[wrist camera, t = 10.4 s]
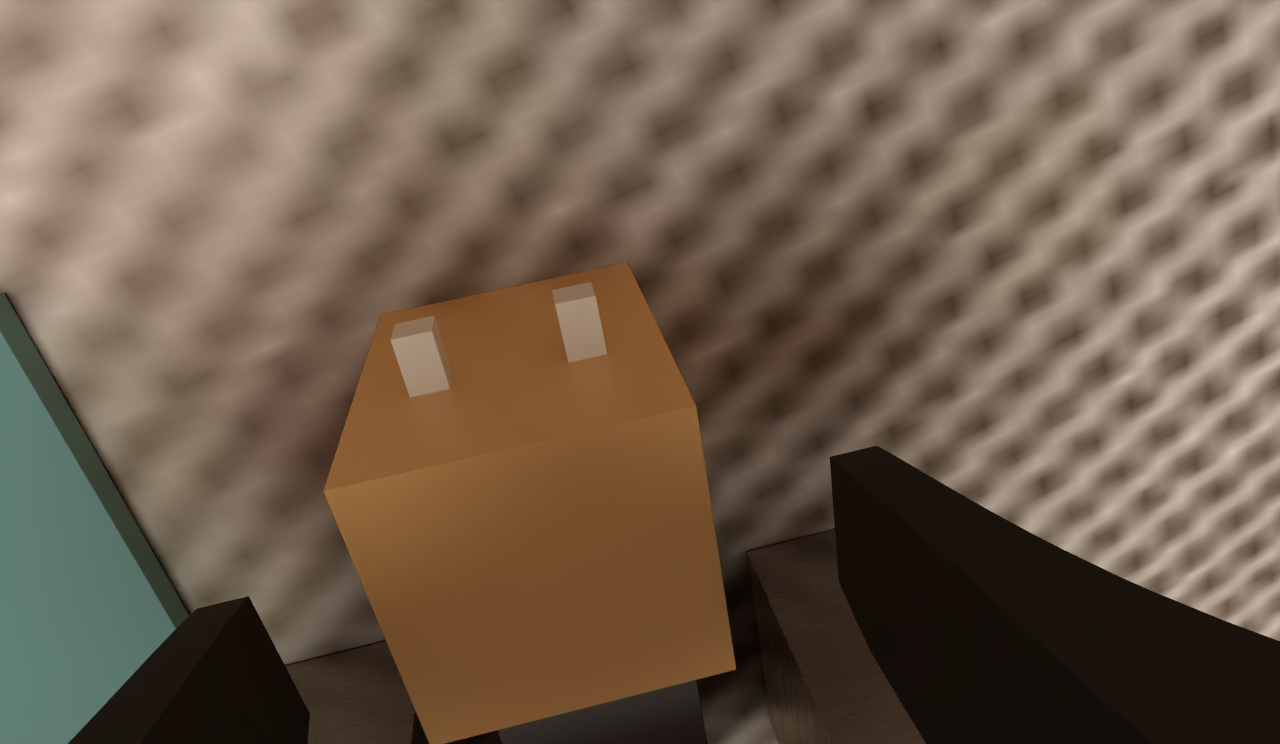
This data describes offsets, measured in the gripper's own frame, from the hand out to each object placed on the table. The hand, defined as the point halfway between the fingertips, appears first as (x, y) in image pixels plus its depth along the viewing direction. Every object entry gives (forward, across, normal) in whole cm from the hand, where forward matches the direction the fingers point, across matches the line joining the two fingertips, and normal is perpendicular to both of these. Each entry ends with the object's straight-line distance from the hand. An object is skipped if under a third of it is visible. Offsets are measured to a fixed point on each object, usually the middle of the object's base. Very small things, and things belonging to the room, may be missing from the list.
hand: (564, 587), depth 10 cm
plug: (+4, 0, 0) cm, 5 cm away
